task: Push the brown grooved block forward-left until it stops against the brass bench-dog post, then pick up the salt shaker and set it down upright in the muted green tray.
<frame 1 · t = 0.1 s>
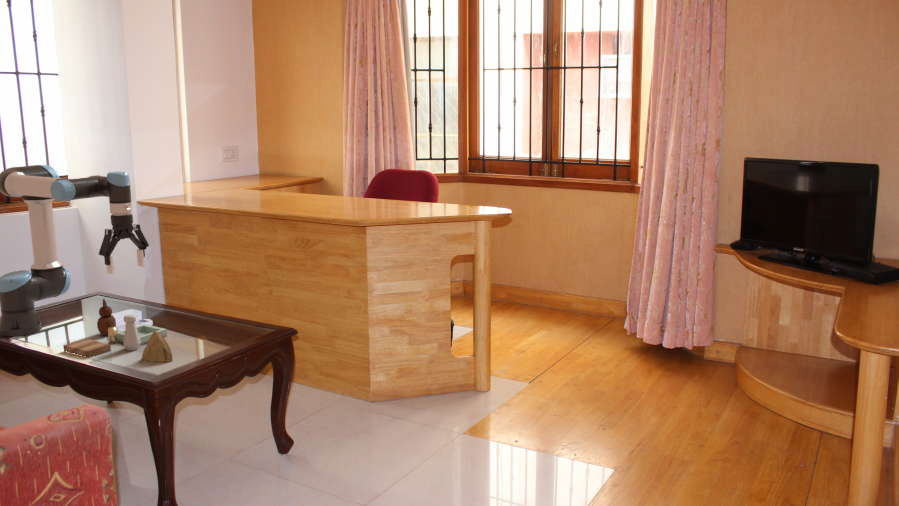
hand: (126, 269, 285), 28 cm above the table, fingers open, 13 cm apart
wooden figurine: (107, 334, 299), on the table
brown grooved block: (87, 352, 279), on the table
tan rounded pyramid: (157, 360, 270), on the table
salt shaker: (132, 349, 282), on the table
tray: (141, 338, 294), on the table
bench dog: (113, 342, 288), on the table
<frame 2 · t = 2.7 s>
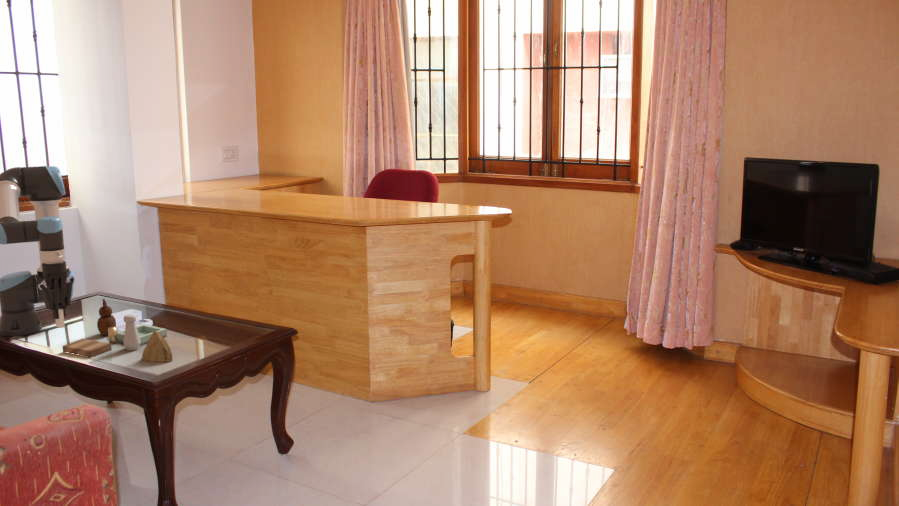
hand: (60, 326, 268), 12 cm above the table, fingers closed
nothing on the table moved.
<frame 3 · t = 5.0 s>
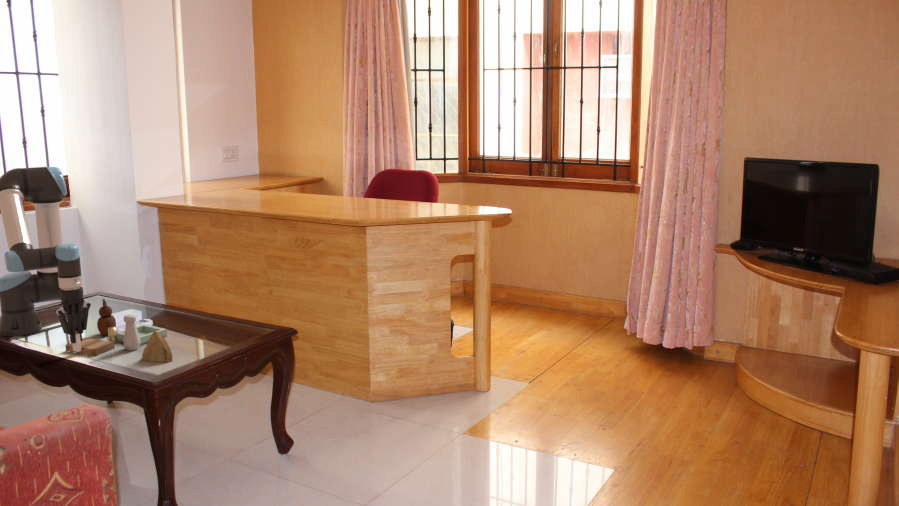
hand: (77, 350, 275), 1 cm above the table, fingers closed
brown grooved block: (90, 351, 281), on the table
everything else where it was.
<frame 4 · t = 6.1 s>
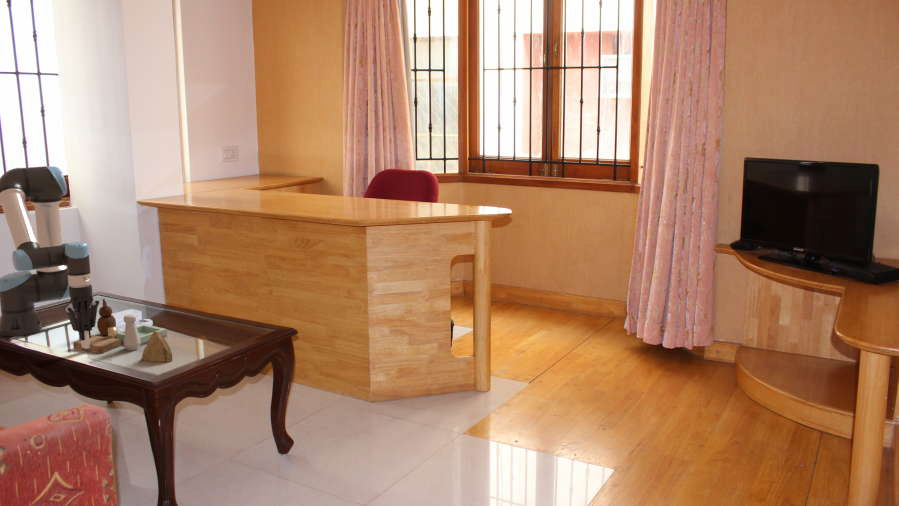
hand: (86, 347, 278), 2 cm above the table, fingers closed
brown grooved block: (97, 348, 284), on the table, touching bench dog, gripper
everything else where it was.
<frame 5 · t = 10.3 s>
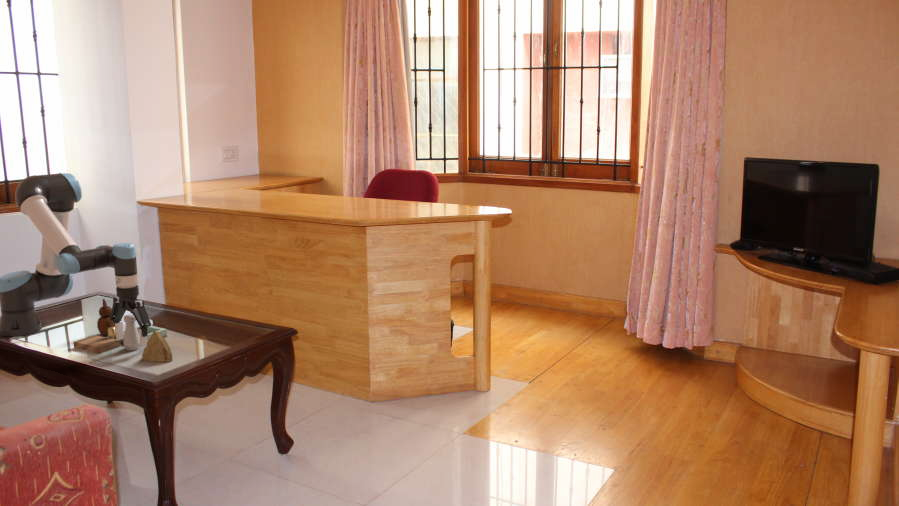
hand: (132, 342, 281), 3 cm above the table, fingers open, 12 cm apart
brown grooved block: (97, 348, 284), on the table, touching gripper
everything else where it was.
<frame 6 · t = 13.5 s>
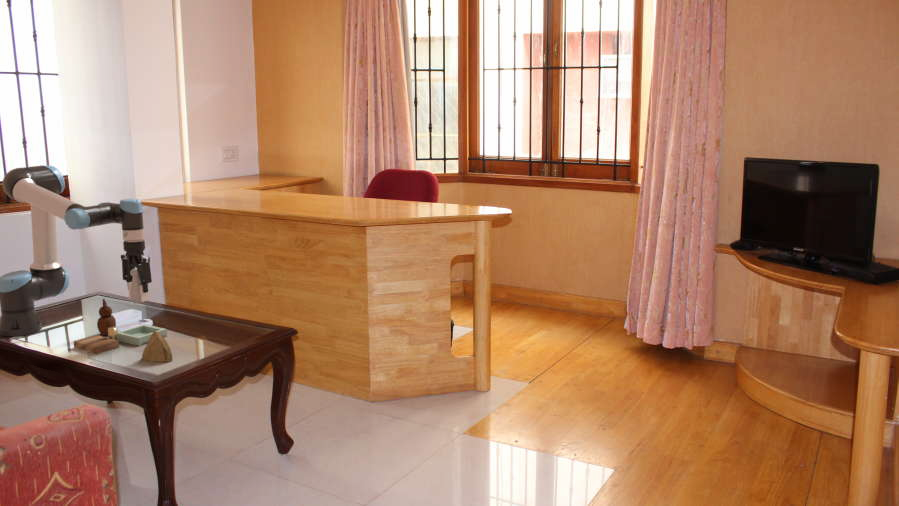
hand: (138, 299, 291), 16 cm above the table, fingers closed on salt shaker, 6 cm apart
brown grooved block: (96, 348, 283), on the table
salt shaker: (139, 302, 291), point 14 cm above the table, touching gripper
everything else where it was.
when the fingers open (3 cm above the table, at t = 15.9 s): salt shaker drops 1 cm, resting on tray.
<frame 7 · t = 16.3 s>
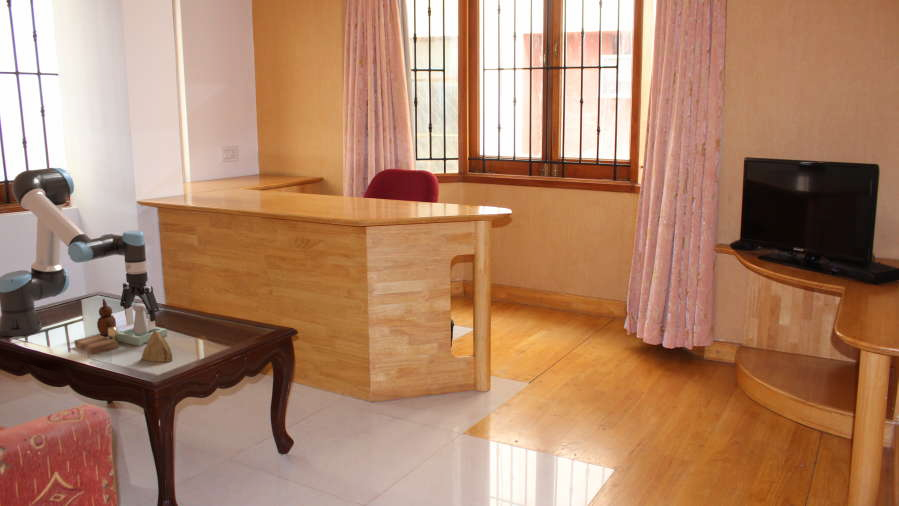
hand: (140, 326, 293), 5 cm above the table, fingers open, 11 cm apart
salt shaker: (141, 336, 294), point 1 cm above the table, touching tray
everything else where it was.
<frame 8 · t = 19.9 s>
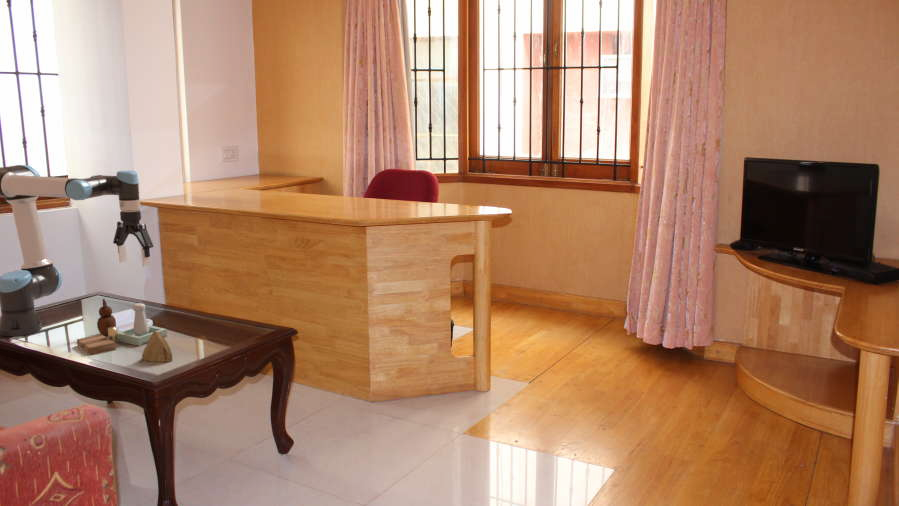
hand: (134, 263, 302), 27 cm above the table, fingers open, 13 cm apart
at the end: brown grooved block inside the target area (1.6 cm from its centre), on the table; salt shaker 0.1 cm from the tray (horizontally); salt shaker tilted 0° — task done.
